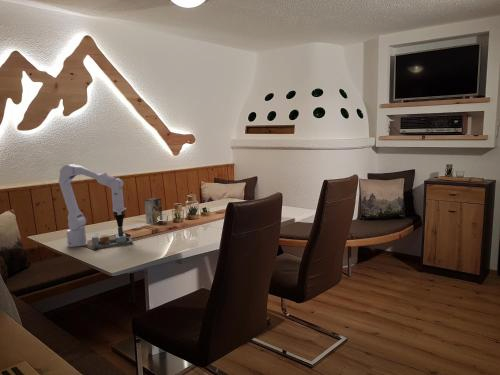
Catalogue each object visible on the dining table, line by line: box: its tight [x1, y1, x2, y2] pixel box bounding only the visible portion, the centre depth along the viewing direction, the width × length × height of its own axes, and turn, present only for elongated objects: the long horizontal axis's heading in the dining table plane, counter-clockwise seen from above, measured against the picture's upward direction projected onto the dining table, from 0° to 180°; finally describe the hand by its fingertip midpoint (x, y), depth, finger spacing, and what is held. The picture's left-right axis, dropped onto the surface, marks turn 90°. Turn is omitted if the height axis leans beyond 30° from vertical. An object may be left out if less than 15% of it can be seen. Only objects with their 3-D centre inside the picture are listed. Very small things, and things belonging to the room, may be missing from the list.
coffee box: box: [144, 197, 163, 225], centre depth 259 cm, size 9×6×16 cm
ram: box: [115, 226, 127, 243], centre depth 212 cm, size 5×8×8 cm, turn 21°
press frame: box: [91, 232, 133, 250], centre depth 210 cm, size 20×11×6 cm, turn 111°
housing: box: [99, 234, 111, 245], centre depth 209 cm, size 4×4×5 cm
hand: (120, 225), depth 211 cm, fingers open, 7 cm apart
